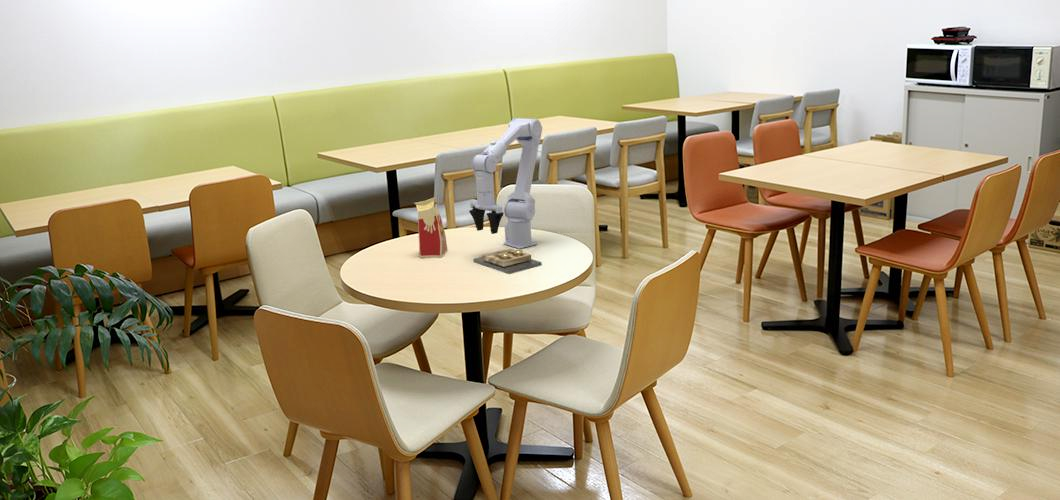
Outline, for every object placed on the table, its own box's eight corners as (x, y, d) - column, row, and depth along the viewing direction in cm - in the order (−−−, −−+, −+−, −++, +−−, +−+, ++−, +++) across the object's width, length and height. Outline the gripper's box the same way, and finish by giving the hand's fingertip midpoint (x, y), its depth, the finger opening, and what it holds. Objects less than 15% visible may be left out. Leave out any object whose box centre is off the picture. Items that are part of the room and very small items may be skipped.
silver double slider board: (473, 261, 297) (472, 249, 296) (505, 253, 305) (504, 241, 304) (508, 273, 282) (508, 261, 281) (541, 265, 289) (540, 252, 288)
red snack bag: (447, 250, 313) (442, 194, 308) (442, 257, 305) (437, 200, 299) (422, 251, 314) (416, 195, 309) (416, 258, 306) (410, 200, 300)
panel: (482, 259, 294) (482, 255, 294) (509, 252, 301) (509, 248, 300) (503, 266, 285) (503, 261, 285) (531, 259, 291) (531, 254, 291)
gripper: (462, 190, 298) (464, 230, 301) (489, 195, 287) (491, 236, 290) (478, 187, 302) (480, 227, 305) (506, 192, 291) (508, 233, 295)
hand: (487, 231), depth 298 cm, fingers open, 7 cm apart
